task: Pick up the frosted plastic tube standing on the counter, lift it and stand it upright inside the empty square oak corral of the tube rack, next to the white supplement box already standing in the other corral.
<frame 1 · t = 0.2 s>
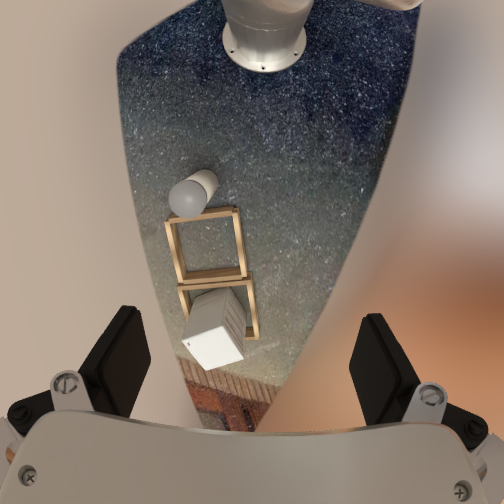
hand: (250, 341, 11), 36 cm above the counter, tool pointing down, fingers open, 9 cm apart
frosted tube: (204, 183, 44), on the counter
supplement box: (221, 304, 53), resting in oak rack
oak rack: (214, 274, 51), on the counter
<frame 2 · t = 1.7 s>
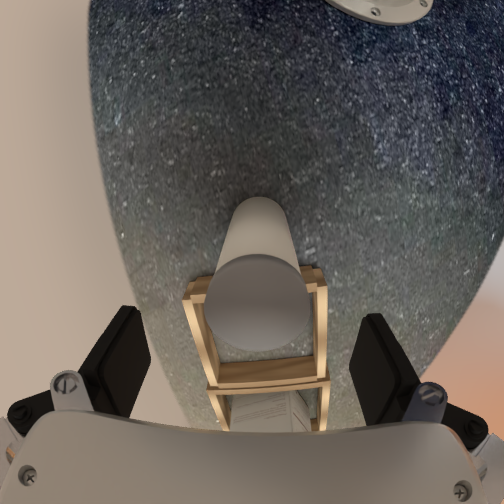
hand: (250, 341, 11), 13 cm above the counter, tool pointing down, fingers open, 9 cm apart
frosted tube: (259, 223, 23), on the counter
supplement box: (272, 399, 32), resting in oak rack
oak rack: (267, 366, 30), on the counter
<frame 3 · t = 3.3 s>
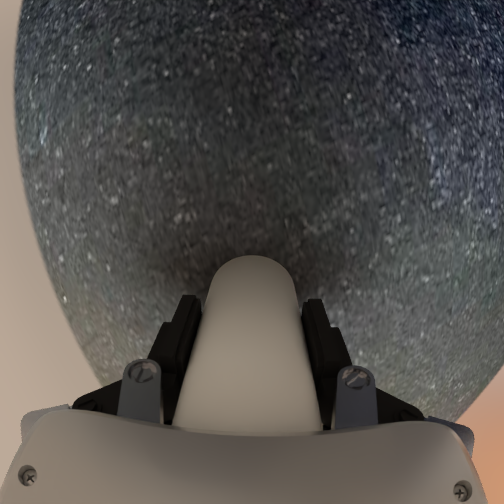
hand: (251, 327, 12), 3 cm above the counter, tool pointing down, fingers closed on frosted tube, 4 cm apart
frosted tube: (252, 294, 15), on the counter, touching gripper
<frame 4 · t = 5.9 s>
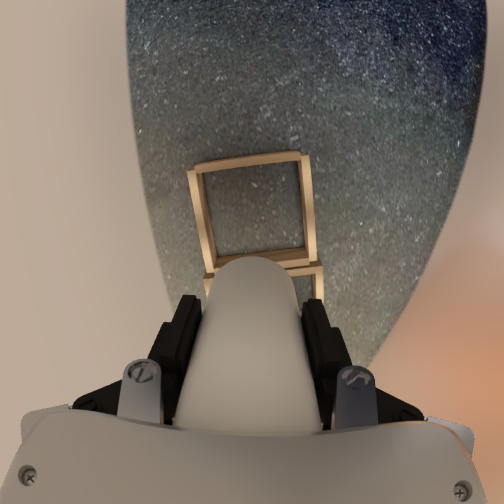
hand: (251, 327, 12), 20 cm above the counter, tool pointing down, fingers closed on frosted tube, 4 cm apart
frosted tube: (252, 295, 15), point 17 cm above the counter, touching gripper
oak rack: (261, 260, 33), on the counter
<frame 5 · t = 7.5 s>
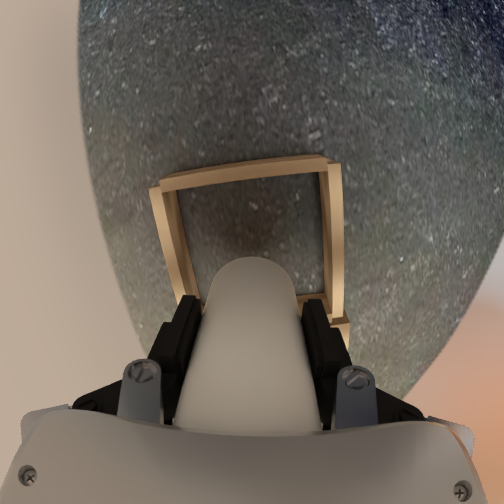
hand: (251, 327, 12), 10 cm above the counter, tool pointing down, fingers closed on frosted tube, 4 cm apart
frosted tube: (252, 295, 15), point 7 cm above the counter, touching gripper
oak rack: (264, 309, 23), on the counter
when the fingers open (4 cm above the counter, at t = 8.9 s): frosted tube drops 2 cm, resting in oak rack.
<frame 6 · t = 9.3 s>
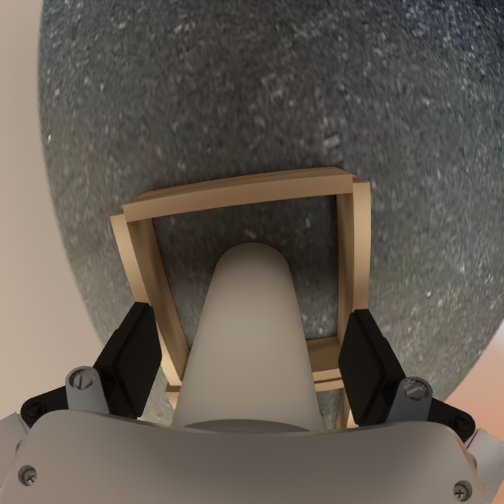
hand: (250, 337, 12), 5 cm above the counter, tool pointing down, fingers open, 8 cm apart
frosted tube: (252, 278, 17), resting in oak rack
oak rack: (263, 356, 19), on the counter
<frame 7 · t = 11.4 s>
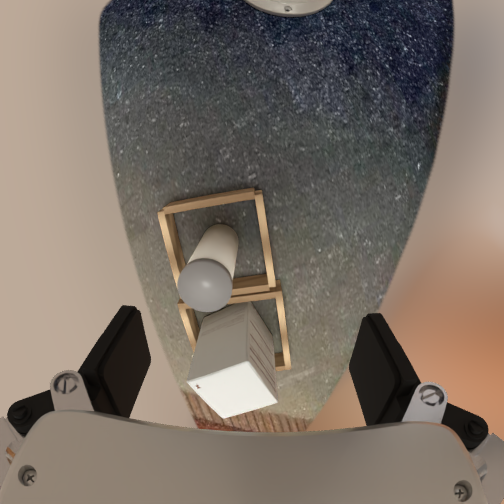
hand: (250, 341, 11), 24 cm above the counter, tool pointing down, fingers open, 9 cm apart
frosted tube: (220, 241, 35), resting in oak rack
supplement box: (238, 325, 39), resting in oak rack
oak rack: (229, 285, 37), on the counter
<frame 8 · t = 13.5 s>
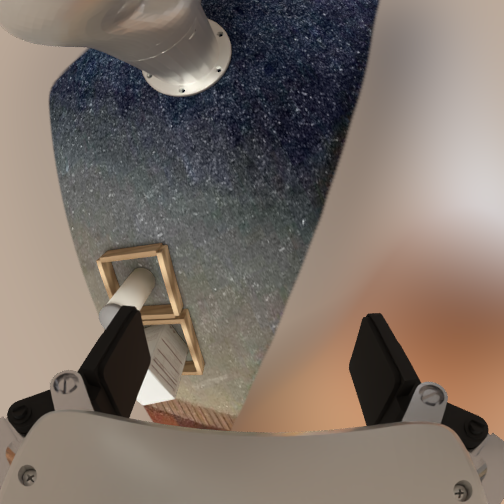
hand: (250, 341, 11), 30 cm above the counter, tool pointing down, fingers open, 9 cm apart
frosted tube: (143, 279, 45), resting in oak rack
supplement box: (163, 338, 50), resting in oak rack
oak rack: (153, 310, 47), on the counter
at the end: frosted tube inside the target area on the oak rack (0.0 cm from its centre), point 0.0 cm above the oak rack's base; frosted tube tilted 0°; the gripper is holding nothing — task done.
